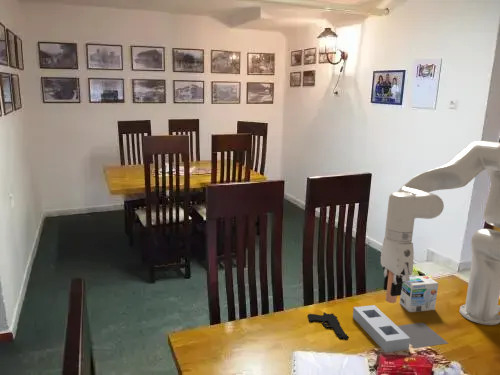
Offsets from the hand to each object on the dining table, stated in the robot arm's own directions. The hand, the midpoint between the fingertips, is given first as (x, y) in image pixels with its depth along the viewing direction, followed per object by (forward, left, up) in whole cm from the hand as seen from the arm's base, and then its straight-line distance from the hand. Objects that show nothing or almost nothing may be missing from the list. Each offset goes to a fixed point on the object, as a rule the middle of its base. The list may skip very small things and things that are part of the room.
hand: (392, 291), depth 118 cm
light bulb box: (-23, -17, -17) cm, 34 cm away
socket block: (0, -5, -17) cm, 18 cm away
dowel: (0, 0, -3) cm, 3 cm away
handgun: (+15, -12, -18) cm, 26 cm away
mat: (-12, -1, -17) cm, 21 cm away
